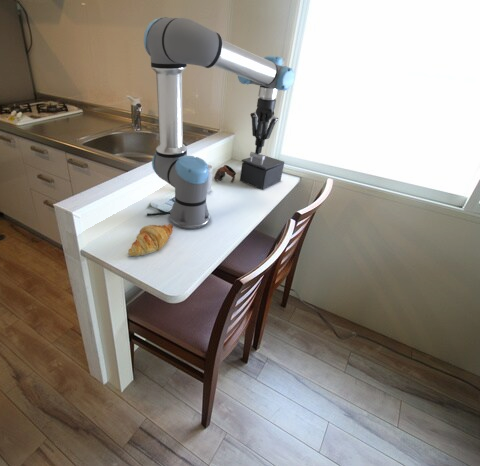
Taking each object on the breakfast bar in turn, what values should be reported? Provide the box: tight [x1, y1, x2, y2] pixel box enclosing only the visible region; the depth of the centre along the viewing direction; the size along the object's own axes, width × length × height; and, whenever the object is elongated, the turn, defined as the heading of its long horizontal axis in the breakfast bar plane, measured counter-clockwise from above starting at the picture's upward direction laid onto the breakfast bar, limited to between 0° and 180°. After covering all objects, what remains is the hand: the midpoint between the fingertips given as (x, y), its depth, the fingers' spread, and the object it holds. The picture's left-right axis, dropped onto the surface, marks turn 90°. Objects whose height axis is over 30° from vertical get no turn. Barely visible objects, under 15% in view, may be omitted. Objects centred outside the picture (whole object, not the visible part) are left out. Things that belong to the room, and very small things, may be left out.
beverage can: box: [207, 163, 214, 194], centre depth 143 cm, size 6×6×12 cm
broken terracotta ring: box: [213, 164, 237, 183], centre depth 156 cm, size 12×9×8 cm
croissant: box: [127, 223, 174, 257], centre depth 107 cm, size 21×10×8 cm, turn 145°
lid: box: [241, 151, 285, 170], centre depth 152 cm, size 16×14×5 cm
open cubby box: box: [239, 162, 285, 190], centre depth 157 cm, size 16×14×9 cm
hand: (258, 153), depth 147 cm, fingers closed
